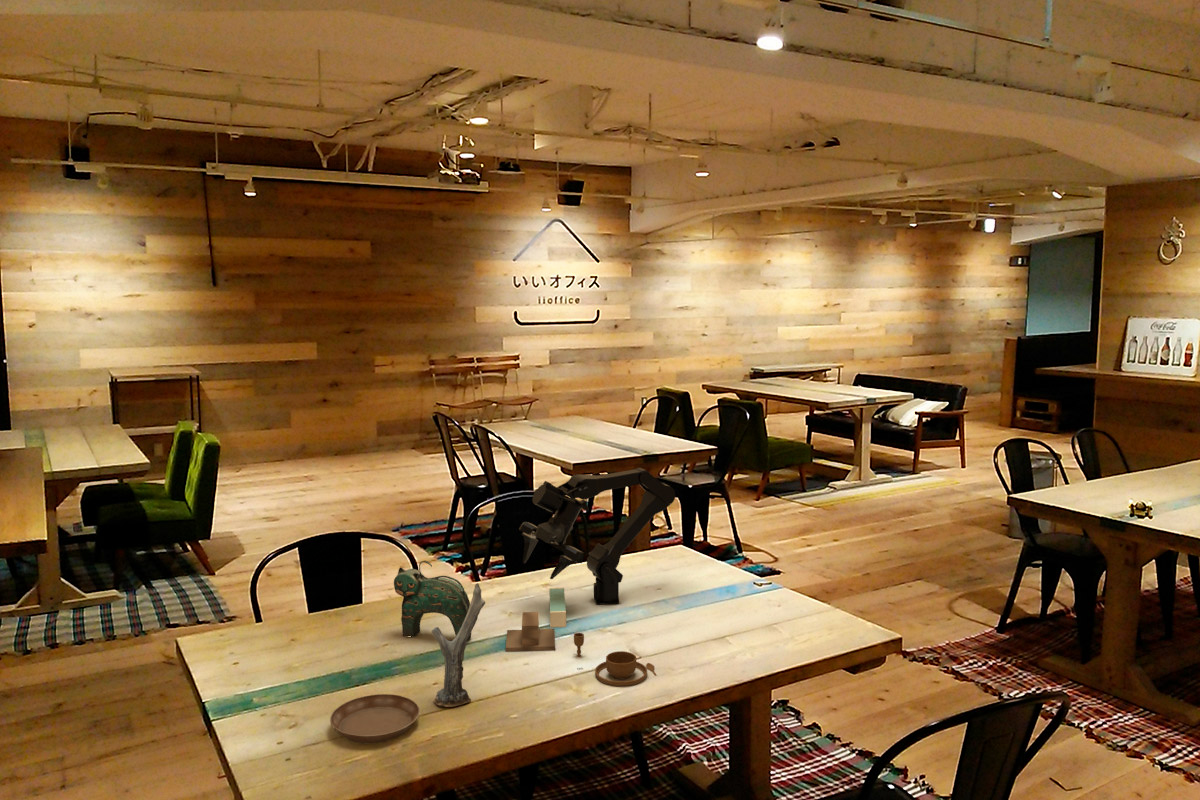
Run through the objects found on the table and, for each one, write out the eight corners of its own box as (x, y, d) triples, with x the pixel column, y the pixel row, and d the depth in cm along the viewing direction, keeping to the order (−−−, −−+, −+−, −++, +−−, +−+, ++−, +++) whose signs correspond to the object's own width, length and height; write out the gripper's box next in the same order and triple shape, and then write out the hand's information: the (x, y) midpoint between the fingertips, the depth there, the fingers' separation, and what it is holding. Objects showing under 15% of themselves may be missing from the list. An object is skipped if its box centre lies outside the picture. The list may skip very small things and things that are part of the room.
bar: (549, 602, 256) (549, 588, 255) (564, 601, 256) (564, 587, 255) (550, 627, 238) (550, 612, 237) (566, 627, 238) (565, 612, 237)
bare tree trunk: (439, 711, 193) (436, 597, 189) (428, 696, 200) (424, 586, 196) (491, 699, 198) (488, 588, 194) (478, 685, 205) (475, 577, 201)
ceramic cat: (394, 637, 232) (391, 561, 229) (406, 627, 238) (404, 553, 235) (466, 646, 226) (463, 568, 223) (477, 636, 232) (475, 560, 229)
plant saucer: (426, 705, 196) (425, 692, 196) (412, 748, 179) (411, 734, 178) (342, 707, 196) (342, 693, 195) (320, 750, 178) (319, 736, 178)
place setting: (588, 693, 202) (588, 668, 201) (569, 656, 221) (569, 633, 220) (664, 684, 206) (664, 659, 205) (639, 649, 225) (639, 626, 224)
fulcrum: (554, 632, 234) (554, 609, 233) (555, 650, 223) (554, 626, 222) (507, 633, 233) (506, 611, 233) (505, 651, 223) (505, 628, 222)
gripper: (524, 498, 244) (497, 551, 243) (581, 530, 236) (553, 584, 235) (541, 505, 254) (514, 556, 253) (596, 535, 246) (569, 588, 245)
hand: (537, 570), depth 246 cm, fingers open, 9 cm apart
